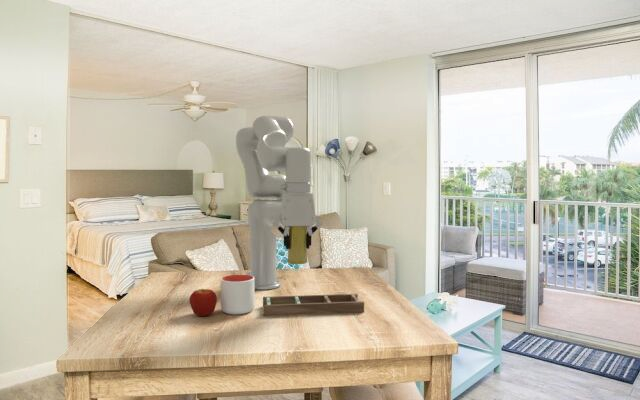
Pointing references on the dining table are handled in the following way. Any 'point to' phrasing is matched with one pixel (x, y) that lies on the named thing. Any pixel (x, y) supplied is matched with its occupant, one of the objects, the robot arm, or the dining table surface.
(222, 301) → the cup
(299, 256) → the vase
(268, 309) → the wooden compartment tray
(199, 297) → the apple
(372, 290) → the dining table surface
